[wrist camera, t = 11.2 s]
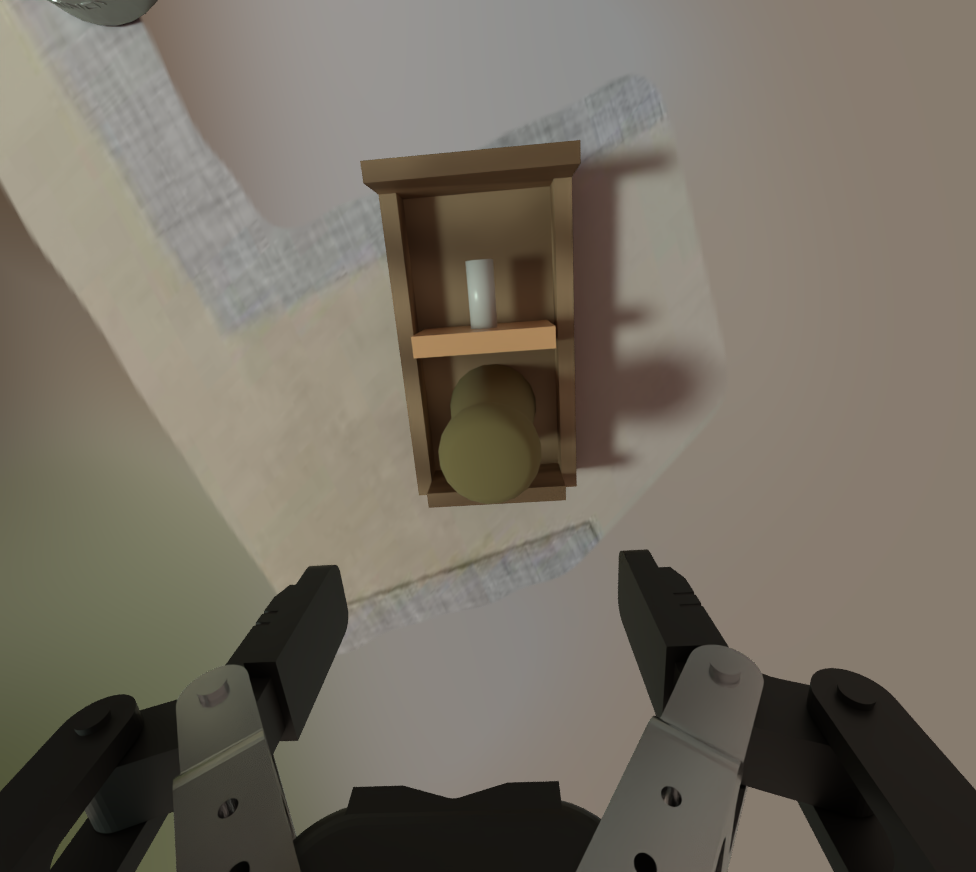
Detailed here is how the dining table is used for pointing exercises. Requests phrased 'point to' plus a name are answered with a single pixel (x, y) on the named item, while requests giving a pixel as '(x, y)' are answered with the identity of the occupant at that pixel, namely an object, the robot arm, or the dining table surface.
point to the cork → (491, 436)
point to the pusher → (483, 324)
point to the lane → (518, 287)
